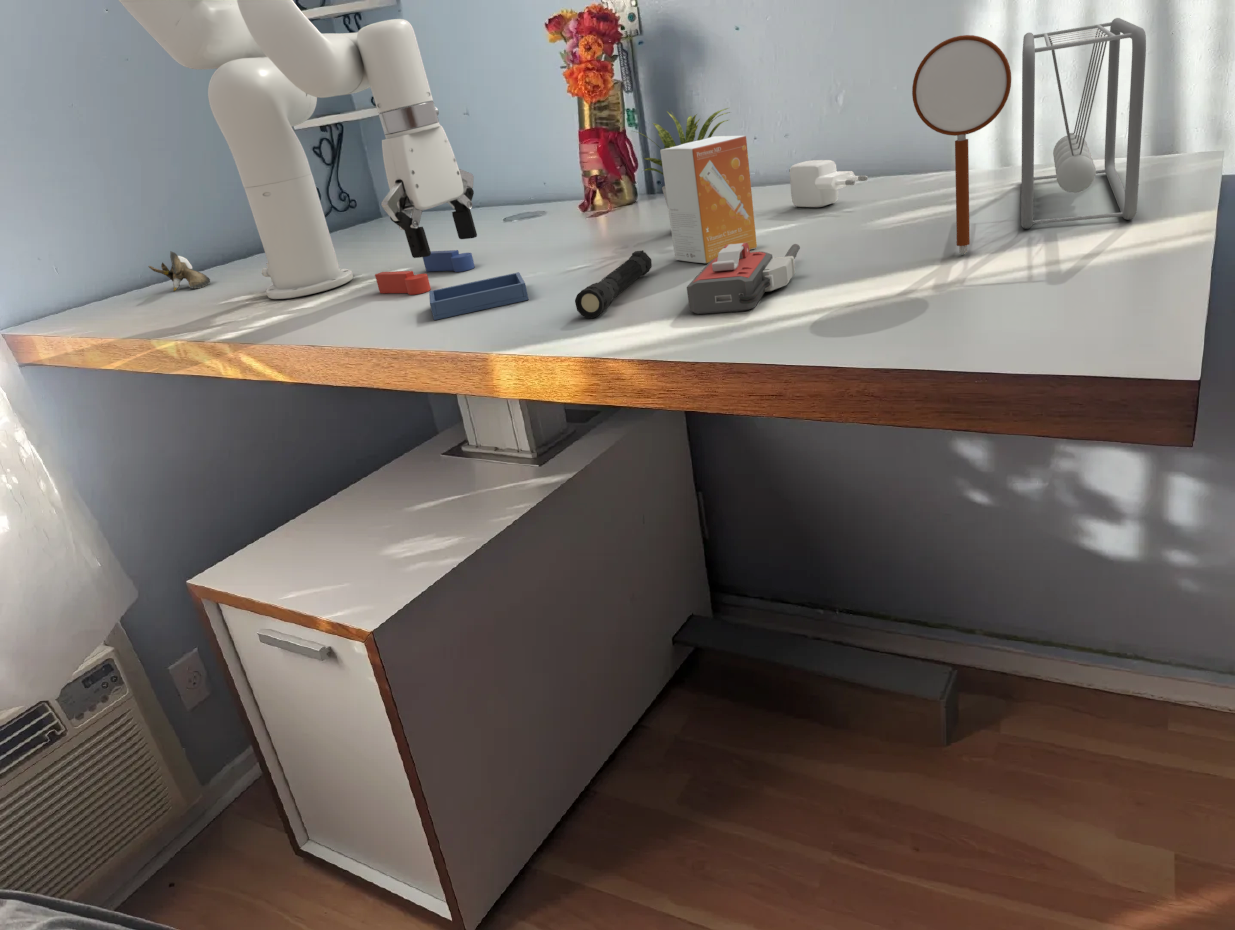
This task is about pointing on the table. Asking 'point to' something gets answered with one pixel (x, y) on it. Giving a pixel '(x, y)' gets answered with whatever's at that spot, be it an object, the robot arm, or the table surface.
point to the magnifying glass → (961, 102)
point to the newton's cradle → (1072, 149)
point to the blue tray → (477, 295)
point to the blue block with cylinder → (448, 261)
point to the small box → (709, 196)
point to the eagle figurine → (182, 272)
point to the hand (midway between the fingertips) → (445, 247)
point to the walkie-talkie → (739, 279)
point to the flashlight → (612, 285)
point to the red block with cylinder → (402, 282)
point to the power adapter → (818, 182)
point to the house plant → (682, 137)
